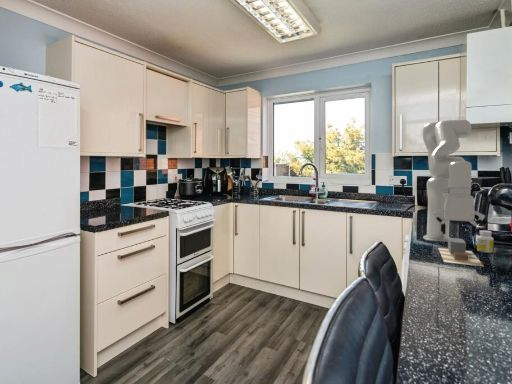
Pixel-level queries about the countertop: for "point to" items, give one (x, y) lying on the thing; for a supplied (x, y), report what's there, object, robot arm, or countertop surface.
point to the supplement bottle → (485, 241)
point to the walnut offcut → (460, 256)
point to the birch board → (450, 259)
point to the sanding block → (456, 245)
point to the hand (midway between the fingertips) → (457, 234)
